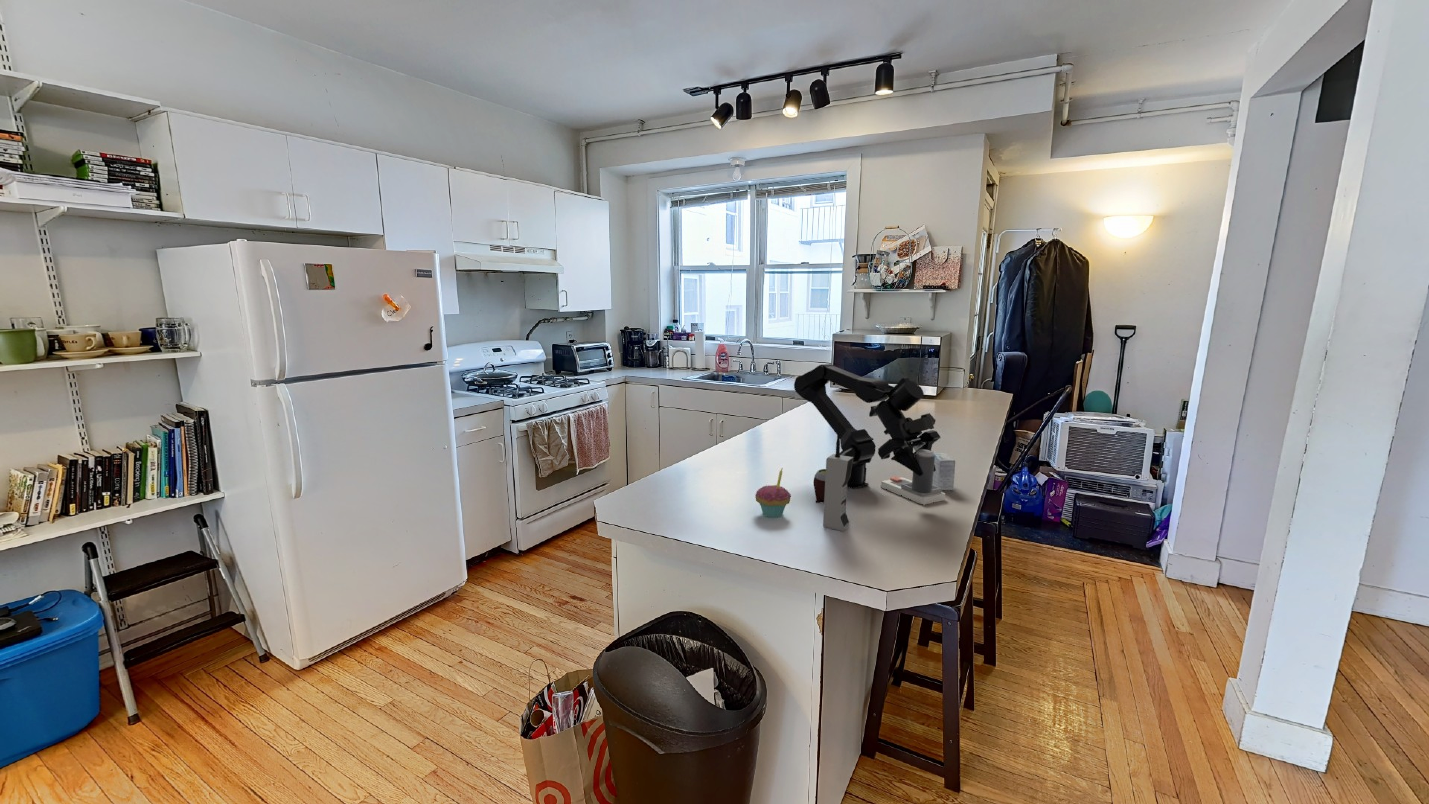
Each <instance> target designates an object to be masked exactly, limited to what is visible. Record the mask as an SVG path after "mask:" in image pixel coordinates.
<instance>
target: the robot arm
mask: <svg viewBox="0 0 1429 804" xmlns="http://www.w3.org/2000/svg"><path fill="white" fill-rule="evenodd" d="M829 382H831V383H834V384H836V385H837V386H840V387H842V388H844V389H848V390H849V391H852V392H853V393H854V394H855V396H856V397H858V398H859V399H860V400H862V401H863V402H865V403H867V404H872V403H877V405H871V406H870V411H869V412H868V415H869V417H876V416H877V417H878V419H879V420H880V422H881V423H882V425H883V427H884V428H885V430H884V431H883V433H884V435H889V436H890V438H889V439H888V440H887V441H886V442H885V443H883V444H882V445H880V446H879V448H878V450H877V455H878V456H879V458H880V460H886V459H889V458H890V457H891V453H893V456H892V457H891V458H890V459H891V461H895V462H896V463H898V464H900V465H902V466H904V467H905V468H907V469H908V470H910V471H911V472H912V473H913V472H914V473H916V474H917V475H919V476H921V475H923V472H922V469H921V467H920V465H919V464H918V462H917V460H916V458H915V456H914V454H915V453H916V451H917V450H920V449H924V450H930V451H932V447H933V445H934V444H935V443H936V442H937V441H939V440H940V439H941V435H940V434H939V433H938V431H937V430H933V429H935V425H936V418H934V416H933V415H932V413H930V412H929V413H928V412H927V413H924V414H921V415H920V418H915V419H913V418H911V417H906V416H905V415H904V413H903V411H904V412H907V411H909V410H910V409H911V408H912V407H913V406H915V405H916V403H918V402H919V401H920V400H921V399H923V398H924V396H925V394H924V390H923V388H922V387H921V386H919V385H918V384H917V383H916V382H914V381H912V380H911V379H909V377H902V378H901V379H900V380H899V381H898V382H897V384H895V385H894V386H893V385H889V382H888V381H887V380H885V379H879V378H871V377H864V376H863V377H862V376H860V375H857V374H855V373H853V372H851V371H847V370H844V369H842V368H840V367H837V366H836V365H834V364H832V363H825V364H824V363H823V364H819V365H818V366H816V367H815V368H813V369H812V370H809V371H807V372H805V373H803V374H802V375H798V376H797V377H796V378H795V380H794V383H793V389H794V391H795V393H796V394H797V395H799V396H800V397H801V398H802V399H803V400H805V401H807V402H809V403H811V404H812V405H813V406H814V407H815V409H816V410H817V411H818V412H819V414H820V415H821V416H822V417H823V419H824V420H825V422H827V424H828V425H829V427H831V429H832V430H833V431H834V433H835V434H836V435H837V431H838V421H840V422H841V426H840V455H841V454H842V453H843V452H845V451H847V450H849V449H851V448H852V449H851V450H850V451H848V452H847V453H846V454H844V455H843V456H849V457H853V462H852V469H851V475H850V478H849V480H848V484H847V488H849V489H856V488H858V489H859V488H862V487H867V486H869V483H868V482H867V481H866V480H867V464H870V463H871V461H872V459H873V457H874V456H875V454H876V443H875V442H874V440H875V439H874V437H872V436H871V435H870V434H869V433H868V431H867V430H866V429H865V428H863V429H856V428H855V427H854V426H853V425H852V423H850V421H849V420H848V419H847V417H846V416H845V415H844V414H843V413H842V411H841V410H840V408H838V407H837V405H836V404H835V403H834V401H833V400H832V399H831V398H830V397H829V395H828V394H827V386H826V385H827V384H828V383H829ZM935 471H936V469H935V465H934V472H935Z"/></svg>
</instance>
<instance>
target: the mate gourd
mask: <svg viewBox="0 0 1429 804" xmlns="http://www.w3.org/2000/svg"><path fill="white" fill-rule="evenodd" d="M851 449H852V448H851ZM851 449H849V450H847V451H845V452H843V453H842V454H841V455H842V456H843V455H844V454H846V453H847V452H848V451H850V450H851ZM825 476H826V468H822V469H819V470H817V471H816V473H815V474H814V477H813V488H814V494H815V499H816V500H815V501H814V502H815V503H816V504H822V503H823V504H824V496H825Z"/></svg>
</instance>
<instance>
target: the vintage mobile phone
mask: <svg viewBox="0 0 1429 804" xmlns="http://www.w3.org/2000/svg"><path fill="white" fill-rule="evenodd" d="M840 426H841V422H840V421H838V431H837V434H836V442H835V454H834V453H832V454H831V455H829V456H828V457H826V461H825V469H826V476H825V496H824V502H823V516H822V518H823V522H822V526H823V528H825V529H830V530H834V531H838V532H844V531H845V530H847V528H848V527H850V520H849V518H848V515H847V498H848V487H847V484H848V480H849V478H850V475H851V469H852V462H853V457H849V456H842V455H840V452H841V442H840Z"/></svg>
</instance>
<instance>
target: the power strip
mask: <svg viewBox="0 0 1429 804" xmlns="http://www.w3.org/2000/svg"><path fill="white" fill-rule="evenodd" d="M889 478H890V479H886V480H880V488H882V489H884V490H886V489H887V491H888V492H891V493H893V492H894V494H897V495H899V496H901V495H902V496H901V497H903V498H904V499H905V498H906V499H908V498H909V500H910V499H911V500H910V501H913V502H915V501H916V502H915V503H918V504H920V505H922V504H923V506H924V505H928V504H933V502H934V503H937V502H941V501H943V502H944V501H945V500H946V493H945V492H943V490H942V488H940V487H937V486H934V485H932V492H931V493H918V492H915V491H913V490H912V489H911V488H912V479H908V478H905V477H904V476H903V477H897V476H893V477H889Z"/></svg>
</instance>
